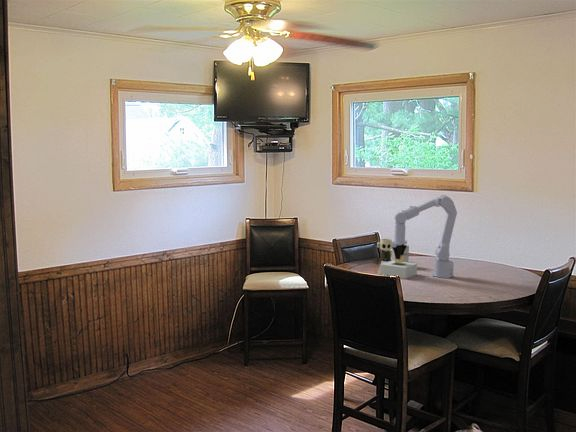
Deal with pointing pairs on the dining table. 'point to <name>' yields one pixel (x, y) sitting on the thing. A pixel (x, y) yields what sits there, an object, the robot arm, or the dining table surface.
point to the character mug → (385, 248)
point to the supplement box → (406, 254)
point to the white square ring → (399, 269)
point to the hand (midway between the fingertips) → (399, 258)
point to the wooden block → (400, 259)
